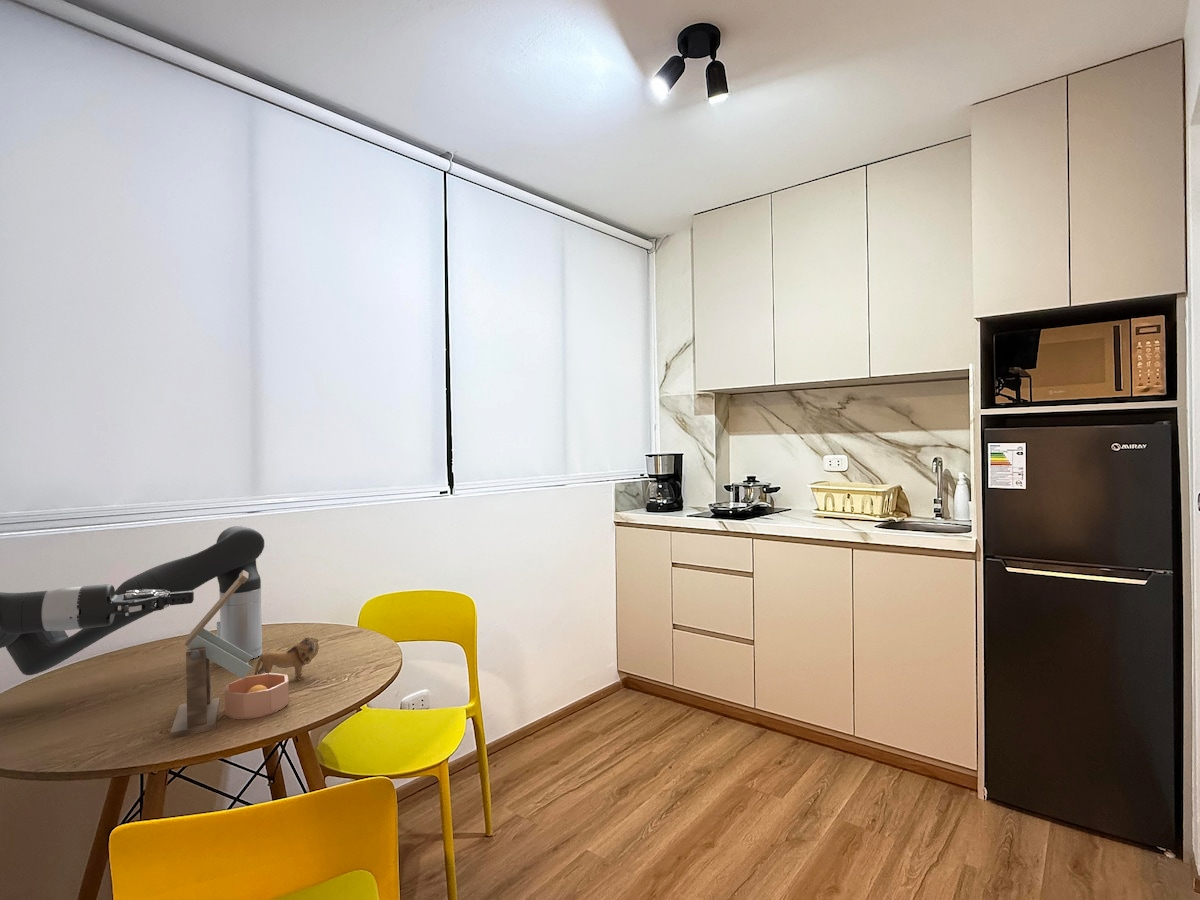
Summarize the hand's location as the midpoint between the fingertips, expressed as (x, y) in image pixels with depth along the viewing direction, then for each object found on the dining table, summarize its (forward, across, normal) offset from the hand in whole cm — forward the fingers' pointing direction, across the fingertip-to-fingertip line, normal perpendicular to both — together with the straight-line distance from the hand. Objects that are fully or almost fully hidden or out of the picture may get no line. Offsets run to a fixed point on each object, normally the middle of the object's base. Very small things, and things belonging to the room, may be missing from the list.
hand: (193, 596), depth 123 cm
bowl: (+11, -1, -24) cm, 26 cm away
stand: (+1, -1, -24) cm, 24 cm away
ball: (+11, -1, -22) cm, 24 cm away
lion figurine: (+17, -17, -25) cm, 34 cm away
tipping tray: (+3, -1, -12) cm, 13 cm away
